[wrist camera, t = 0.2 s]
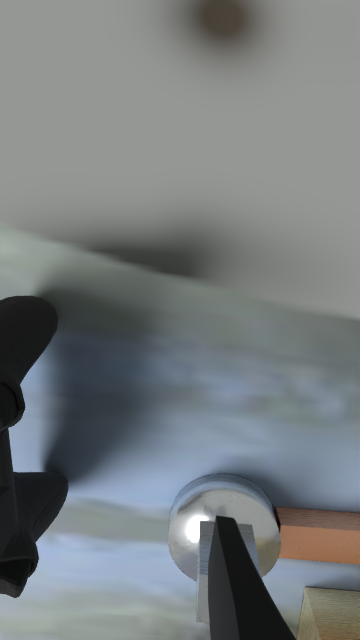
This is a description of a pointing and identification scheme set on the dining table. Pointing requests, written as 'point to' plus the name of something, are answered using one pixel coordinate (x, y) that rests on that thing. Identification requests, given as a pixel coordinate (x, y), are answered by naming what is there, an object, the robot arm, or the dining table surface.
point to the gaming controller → (3, 412)
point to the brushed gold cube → (329, 615)
